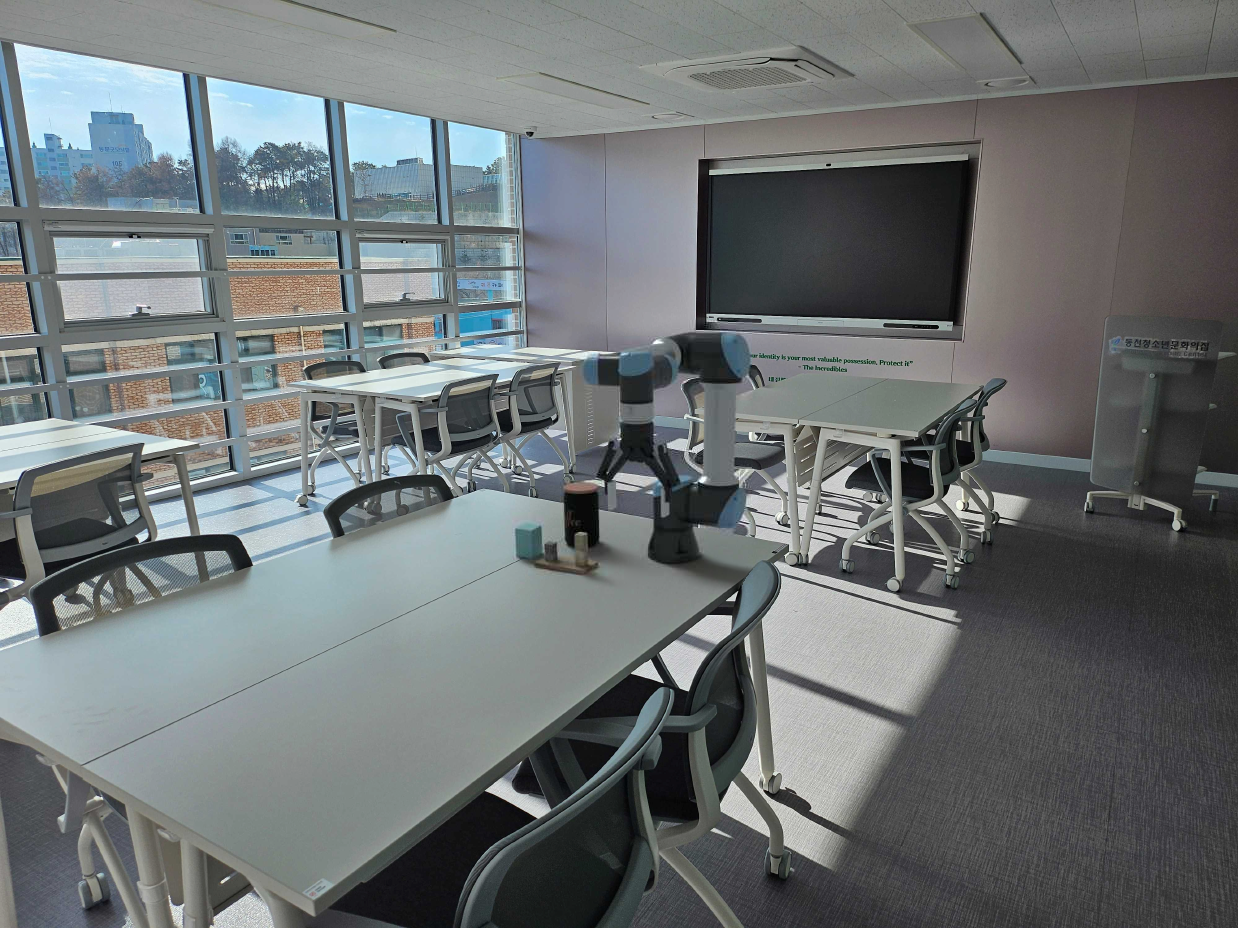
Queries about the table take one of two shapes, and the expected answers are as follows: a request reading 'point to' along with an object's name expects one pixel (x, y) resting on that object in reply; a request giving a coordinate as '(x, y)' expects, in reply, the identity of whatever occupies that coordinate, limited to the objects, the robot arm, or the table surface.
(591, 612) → the table surface
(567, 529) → the coffee jar
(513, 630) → the table surface
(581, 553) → the stand
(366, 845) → the table surface
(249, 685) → the table surface
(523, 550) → the teal rectangular block
